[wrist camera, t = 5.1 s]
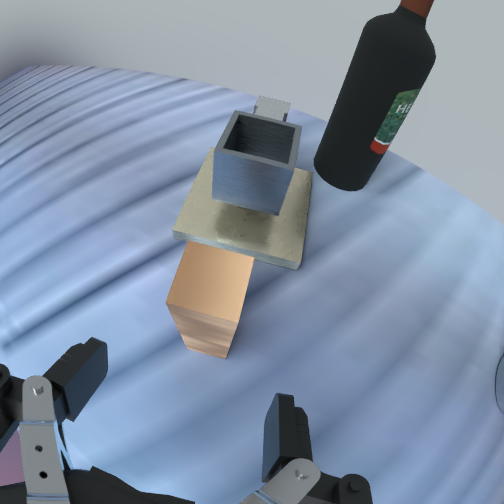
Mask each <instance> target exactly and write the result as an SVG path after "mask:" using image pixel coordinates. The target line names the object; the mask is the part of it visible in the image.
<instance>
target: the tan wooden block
mask: <svg viewBox="0 0 504 504" xmlns="http://www.w3.org/2000/svg"><path fill="white" fill-rule="evenodd" d="M254 258H255V257H251V256H247V255H243V254H239V253H235V252H232V251H228V250H224V249H220V248H216V247H213V246H209V245H205V244H201V243H197V242H193V241H190V240H188V243H187V245H186V248H185V251H184V253H183V256H182V259H181V261H180V264H179V267H178V269H177V272H176V275H175V278H174V280H173V283H172V286H171V289H170V291H169V294H168V297H167V300H166V304H167V306H168V309H169V311H170V313H171V315H172V317H173V320H174V322H175V324H176V326H177V328H178V330H179V332H180V334H181V336H182V338H183V341H184V343H185V345H186V347H187V349H190V350H193V351H197V352H200V353H204V354H208V355H211V356H215V357H219V358H223V359H226V356H227V353H228V351H229V348H230V345H231V342H232V339H233V337H234V334H235V331H236V328H237V325H238V322H239V318H240V314H241V310H242V306H243V302H244V298H245V294H246V290H247V286H248V282H249V278H250V274H251V270H252V266H253V262H254Z"/></svg>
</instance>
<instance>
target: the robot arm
mask: <svg viewBox="0 0 504 504" xmlns="http://www.w3.org/2000/svg"><path fill="white" fill-rule="evenodd" d="M107 371H108V354H107V344H106V343H105V342H103V341H100V340H98V339H96V338H93V337H91V338H90V339H89V340H88V341H87V342H86V343H85V344H82V343H79V344H76V345H74V346H72V347H71V348H69V349H68V350H67V351H66V352H65V354H63V355H62V356H61V357H60V359H58V360H57V361H56V362H55V363H54V364H53V365H52V366H51V368H50V369H49V370H48V371H47V372H46V373H45V374H44V375H43V376H31V377H29V378H27V379H26V380H24V379H20V378H17V377H14V376H11V375H10V372H9V369H8V368H7V367H6V366H5V365H3V364H0V452H1V451H2V449H3V448H4V446H5V445H6V443H7V442H8V440H9V439H10V438H11V436H12V435H13V433H14V432H15V430H16V429H17V428H18V426H19V431H20V445H21V455H22V462H23V470H24V477H25V481H24V482H19V483H15V484H10V485H5V486H0V504H195V502H193V501H189V500H185V499H181V498H177V497H174V496H170V495H163V494H154V493H146V492H140V491H138V490H136V489H135V488H133V487H131V486H130V485H128V484H127V483H125V482H124V481H122V480H121V479H119V478H118V477H116V476H114V475H112V474H109V473H107V472H105V471H103V470H100V469H98V468H96V467H94V466H92V468H91V470H90V471H88V470H82V469H73V466H72V463H71V460H70V457H69V453H68V448H67V443H66V438H65V433H64V428H63V423H62V422H63V421H64V420H65V418H67V419H69V420H70V421H72V422H74V420H75V419H76V418H77V416H78V415H79V413H80V412H81V410H82V409H83V408H84V406H85V405H86V403H87V402H88V401H89V399H90V398H91V396H92V395H93V394H94V392H95V391H96V390H97V388H98V387H99V385H100V384H101V383H102V381H103V380H104V379H105V377H106V374H107ZM496 398H497V402H498V405H499V408H500V410H501V411H502V412H503V413H504V356H503V357H502V359H501V361H500V363H499V366H498V370H497V375H496ZM262 482H267V484H265V485H264V486H263V487H262V488H261V489H259V490H258V491H255V492H253V493H252V494H251V495H249V496H248V497H247V498H246V499H244V500H243V501H242V502H240V503H239V504H373V502H372V496H371V490H370V485H369V483H368V481H367V480H366V479H365V478H364V477H362V476H360V475H357V474H348V475H345V476H344V477H342V478H338V477H334V476H331V475H328V474H325V473H323V472H321V471H320V469H319V467H318V466H317V465H316V464H315V463H314V462H313V459H312V450H311V442H310V434H309V427H308V418H307V415H306V413H305V412H304V410H303V409H302V408H300V407H295V406H294V397H293V395H287V394H281V393H276V395H275V397H274V399H273V401H272V404H271V406H270V408H269V410H268V413H267V415H266V418H265V423H264V445H263V470H262Z"/></svg>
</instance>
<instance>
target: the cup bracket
mask: <svg viewBox="0 0 504 504" xmlns="http://www.w3.org/2000/svg"><path fill="white" fill-rule="evenodd" d="M289 107H290V103H288V102H283V101H280V100H276V99H271V98H267V97H263V96H259V97H258V99H257V101H256V104H255V107H254V112H253V114H250V113H246V112H241V111H236V110H235V111H234V113H233V115H232V117H231V119H230V121H229V122H228V124H227V126H226V128H225V130H224V132H223V134H222V136H221V138H220V140H219V142H218V144H217V146H216V148H213V147H211V149H210V151H209V153H208V155H207V157H206V159H205V161H204V163H203V165H202V167H201V169H200V171H199V173H198V175H197V177H196V179H195V181H194V183H193V186H192V188H191V190H190V192H189V194H188V196H187V198H186V201H185V203H184V205H183V207H182V209H181V212H180V214H179V216H178V218H177V220H176V223H175V225H174V227H173V236H174V239H178V240H182V241H186V242H188V240H190V241H193V242H197V243H201V244H205V245H209V246H213V247H216V248H220V249H224V250H228V251H232V252H235V253H239V254H243V255H247V256H251V257H255V258H254V259H255V260H258V261H262V262H266V263H270V264H274V265H278V266H282V267H286V268H289V269H293V270H297V268H298V267H299V265H300V263H301V258H302V251H303V244H304V237H305V230H306V223H307V215H308V207H309V199H310V191H311V182H312V174H313V173H312V172H309V171H306V170H302V169H299V168H295V164H296V158H297V153H298V147H299V141H300V135H301V129H302V126H299V125H295V124H291V123H288V122H286V119H287V115H288V111H289Z"/></svg>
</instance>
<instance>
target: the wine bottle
mask: <svg viewBox="0 0 504 504" xmlns="http://www.w3.org/2000/svg"><path fill="white" fill-rule="evenodd" d="M433 2H434V0H401V3H400V5H399V7H398V8H397V9H396V11H395V12H394V13H389V14H384V15H379V16H376V17H374V18H372V19H371V20H369V21H368V22H367V23H366V25H365V27H364V28H363V31H362V34H361V37H360V40H359V42H358V45H357V48H356V50H355V53H354V56H353V59H352V61H351V64H350V67H349V69H348V72H347V75H346V78H345V80H344V83H343V86H342V88H341V91H340V93H339V96H338V99H337V101H336V104H335V107H334V109H333V112H332V114H331V117H330V119H329V122H328V125H327V127H326V130H325V132H324V135H323V137H322V140H321V143H320V145H319V148H318V150H317V153H316V155H315V158H314V166H315V169H316V171H317V173H318V174H319V175H320V176H321V177H322V179H324V180H325V181H326V182H328V183H329V184H330V185H332V186H334V187H336V188H339V189H342V190H346V191H357V190H360V189H362V188H363V187H364V186H365V185H366V183H367V182H368V180H369V178H370V177H371V175H372V174H373V172H374V170H375V169H376V167H377V165H378V164H379V162H380V160H381V159H382V157H383V155H384V154H385V152H386V150H387V149H388V147H389V145H390V144H391V142H392V140H393V139H394V137H395V135H396V133H397V132H398V130H399V128H400V126H401V125H402V123H403V121H404V119H405V118H406V116H407V114H408V112H409V110H410V108H411V107H412V105H413V103H414V101H415V99H416V98H417V96H418V94H419V92H420V90H421V88H422V86H423V84H424V82H425V81H426V79H427V77H428V75H429V73H430V71H431V69H432V67H433V65H434V63H435V59H436V55H435V49H434V45H433V43H432V41H431V39H430V37H429V35H428V33H427V31H426V30H425V25H426V18H427V16H428V14H429V11H430V9H431V6H432V4H433Z"/></svg>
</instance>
